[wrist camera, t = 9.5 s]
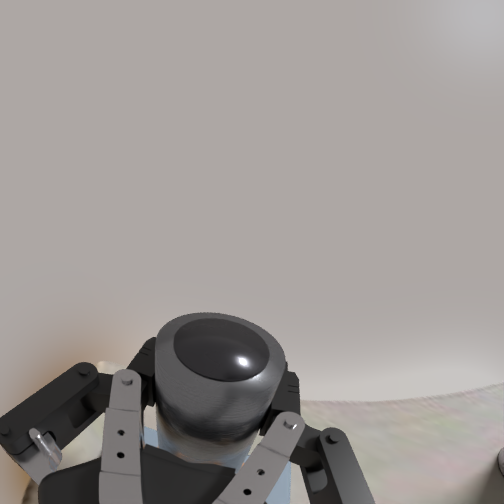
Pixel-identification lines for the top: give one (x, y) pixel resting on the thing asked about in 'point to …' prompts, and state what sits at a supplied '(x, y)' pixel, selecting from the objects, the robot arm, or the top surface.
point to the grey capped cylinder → (214, 386)
